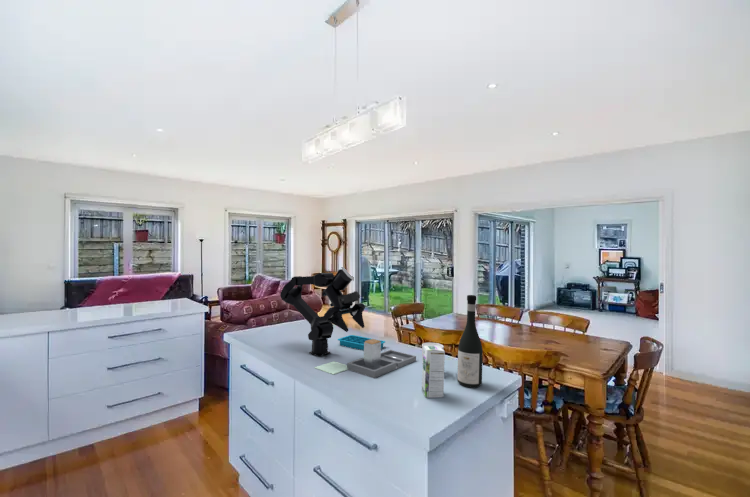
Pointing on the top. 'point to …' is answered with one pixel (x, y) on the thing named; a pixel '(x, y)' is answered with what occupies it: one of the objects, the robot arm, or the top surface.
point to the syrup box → (433, 371)
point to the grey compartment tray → (382, 364)
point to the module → (372, 354)
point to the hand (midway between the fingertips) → (355, 329)
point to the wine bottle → (470, 350)
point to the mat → (332, 367)
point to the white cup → (430, 344)
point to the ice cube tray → (355, 341)
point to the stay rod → (393, 358)
